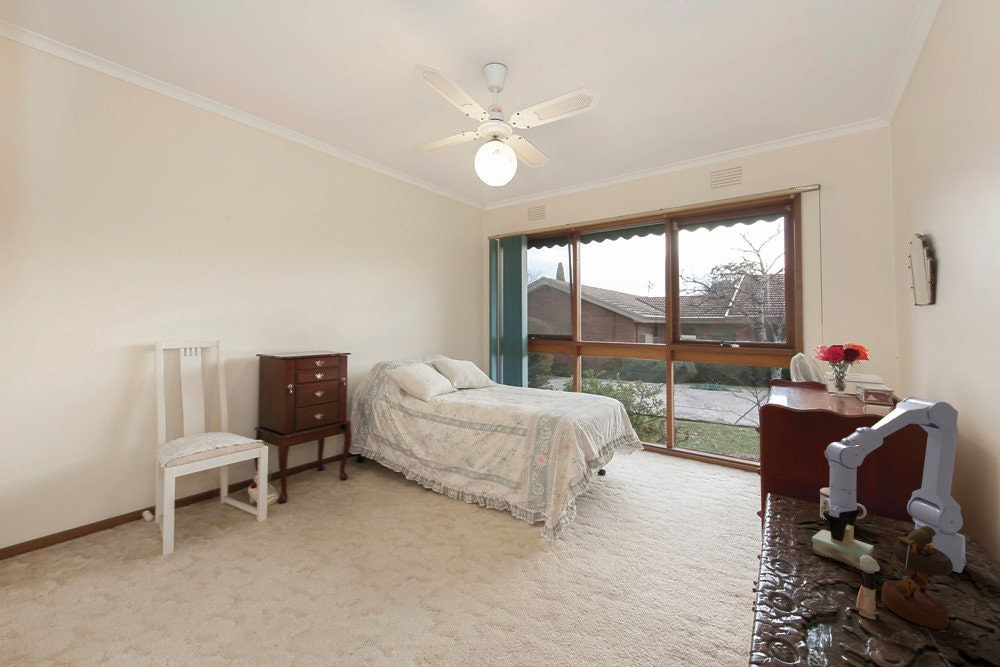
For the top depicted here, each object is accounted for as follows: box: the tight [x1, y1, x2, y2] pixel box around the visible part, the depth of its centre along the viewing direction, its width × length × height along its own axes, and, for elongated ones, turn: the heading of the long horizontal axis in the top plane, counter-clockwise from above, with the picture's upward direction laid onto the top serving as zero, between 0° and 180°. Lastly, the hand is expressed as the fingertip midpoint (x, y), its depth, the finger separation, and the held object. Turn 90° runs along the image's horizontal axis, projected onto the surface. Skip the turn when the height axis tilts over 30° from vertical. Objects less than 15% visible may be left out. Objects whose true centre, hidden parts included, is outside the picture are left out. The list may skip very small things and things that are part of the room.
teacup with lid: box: [819, 486, 867, 521], centre depth 136 cm, size 12×9×12 cm
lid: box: [811, 524, 874, 558], centre depth 114 cm, size 11×8×6 cm
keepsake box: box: [812, 541, 873, 571], centre depth 114 cm, size 11×8×3 cm
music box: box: [880, 526, 953, 630], centre depth 92 cm, size 15×11×20 cm
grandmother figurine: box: [855, 555, 881, 620], centre depth 91 cm, size 8×4×13 cm, turn 141°
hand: (841, 536), depth 114 cm, fingers open, 7 cm apart
